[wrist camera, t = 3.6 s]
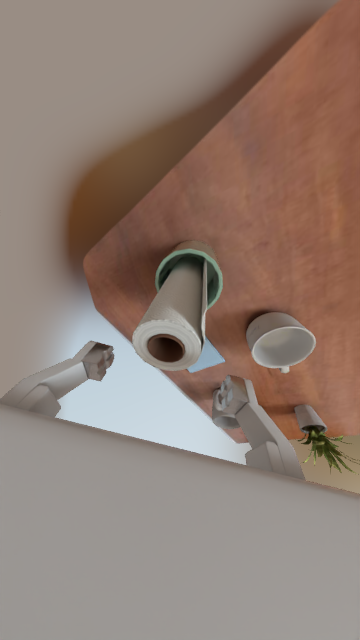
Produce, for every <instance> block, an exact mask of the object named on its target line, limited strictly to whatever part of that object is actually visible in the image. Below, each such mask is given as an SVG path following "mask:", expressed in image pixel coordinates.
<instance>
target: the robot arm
mask: <svg viewBox="0 0 360 640" xmlns="http://www.w3.org/2000/svg"><path fill="white" fill-rule="evenodd" d="M112 351H113V346H109V345H105V344H101V343H98V342H94V341H90V342H88V343H87V344H86V345H85V346H84V347H83V348H82V349H81V350H80V351H79V352H78V353H77V354H76V355H75V356H74V358H73V359H68V360H65V361H63V362H61V363H58V364H56V365H54V366H52V367H49V368H47V369H45V370H43V371H40V372H38V373H36V374H33V375H31V376H29V377H27V378H24V379H23V380H22V381H20V382H19V383H18V384H17V385H16V386H15V387H14V388H12V389H11V390H10V391H9V392H8V393H7V394H6V395H4V396H3V397H2V398H1V399H0V640H360V494H358V493H354V492H350V491H346V490H342V489H338V488H334V487H330V486H326V485H322V484H318V483H314V482H310V481H306V480H305V477H304V475H303V472H302V469H301V466H300V464H299V461H298V459H297V456H296V453H295V451H294V448H293V446H292V445H291V444H290V442H289V441H288V440H287V438H286V437H285V436H284V435H283V433H282V432H281V431H280V430H279V428H278V427H277V426H276V425H275V423H274V422H273V421H272V420H271V418H270V417H269V416H268V415H267V413H266V412H265V411H264V409H263V408H262V407H261V406H260V405H258V402H257V399H256V395H255V392H254V388H253V385H252V382H251V380H248V379H244V378H240V377H236V376H232V375H227V376H226V380H225V381H223V383H222V385H221V396H222V397H223V400H222V401H221V402H222V412H226V413H229V414H233V415H235V417H236V419H237V421H238V423H239V425H240V427H241V428H242V430H243V432H244V434H245V436H246V438H247V440H248V441H249V443H250V445H251V447H252V450H250V451H248V452H247V453H246V454H245V457H246V464H247V465H243V464H238V463H234V462H230V461H227V460H223V459H219V458H214V457H211V456H207V455H203V454H198V453H195V452H191V451H187V450H183V449H179V448H175V447H171V446H167V445H163V444H159V443H155V442H151V441H147V440H143V439H139V438H135V437H131V436H127V435H123V434H119V433H115V432H111V431H107V430H103V429H99V428H95V427H91V426H87V425H83V424H79V423H75V422H71V421H67V420H63V419H59V418H55V416H56V414H57V413H58V412H59V410H60V409H61V406H60V404H59V403H58V401H57V400H58V399H60V398H61V397H63V396H64V395H66V394H67V393H68V392H70V391H71V390H73V389H74V388H76V387H77V386H79V385H80V384H82V383H83V382H85V381H86V380H88V379H93V380H97V381H101V380H102V378H103V377H104V376H105V374H106V369H107V368H109V367H110V366H111V364H112V362H113V359H114V354H113V352H112Z"/></svg>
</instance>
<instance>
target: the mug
mask: <svg viewBox="0 0 360 640" xmlns="http://www.w3.org/2000/svg"><path fill="white" fill-rule="evenodd" d="M222 400H223V397H222V396H221V388H219V389H218V390H215V391H214V393H213V407H212V420H213V423H214V424H215V425H216V426H218V427H221V428H225V429H235V428H239V427H240V425H239V423H238V421H237V419H236V417H235V415H233V414H229V413H226V412H222V402H221V401H222Z"/></svg>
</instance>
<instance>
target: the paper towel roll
mask: <svg viewBox="0 0 360 640" xmlns="http://www.w3.org/2000/svg"><path fill="white" fill-rule="evenodd" d="M206 310H207V267H206V259H205V258H204V268H203V266H202V263H201V262H200V261H199V260H198V259H196V258H193V257H184V258H182V259H180V260H179V261H178V262H177V263H176V265H175V266H174V268H173V269H172V271H171V273H170V274H169V276H168V278H167V279H166V281H165V282H164V284H163V286H162V287H161V289H160V290H159V292H158V294H157V295H156V297H155V299H154V300H153V302H152V303H151V305H150V307H149V308H148V310H147V311H146V313H145V315H144V316H143V318H142V320H141V321H140V323H139V324H138V326H137V328H136V329H135V331H134V332H133V340H132V344H133V347H134V349H135V351H136V353H137V354H138V355H139V356H140V357H141V358H142V359H143V360H144V361H145V362H147V363H149V364H150V365H152V366H154V367H156V368H160V369H163V370H173V371H178V370H183V369H187V368H189V367H191V366H192V365H194V364H195V363H197V361H198V359H199V357H200V355H201V353H202V350H203V347H204V344H205V312H206Z"/></svg>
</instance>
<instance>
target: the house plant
mask: <svg viewBox="0 0 360 640" xmlns="http://www.w3.org/2000/svg"><path fill="white" fill-rule="evenodd" d="M294 410H295V413H296V417H297V420H298V424H299V427H300V430H301V431H302V432H304V433H308V434H309V437H308V439H307V441H306V442H305V443H302V444H310V443H311V440H312V441H313V442H312V445H313V447H312V450H311V451H314V465H315V461H316V450H317V453H318V457H321V456H322V454H324V456H325V458H326V459H327V460H328V462H329V465H330V468H331V466H333V467H335V468H336V469H338V470H339V471H340V472H341V470H340V468H339V466H338V464H337V462H336V460H335V459H334V457H333V456H332V454H333V455H334V456H335V457H336V458H337V459H338V461H339V462H340V463H341V464H342V465H343V466H344V467H345V468H346V469H348V470H349V471H351V472H353V471H352V470H351V469H350V468H348V467H347V466H346V465H345V463H344V462H343V461H342V460H341V459H340V458H339V457H338V456H337V455H339V456H343V455H342V454H340V452H338V451H337V450H335V448H336V447H338V446H336V445H334V444H332V443H331V442H330V441H329V440H328V439H329V438H328V437H326V436H325V434H324V433H325V431H327V427H326V426H325V424H324V423H323V422H322V420H321V419H320V418H319V416H318V415H317V414H316V412H315V411H314V410H313V408H312V407H311V406H309V405H299V406H296V407H295V408H294ZM323 432H324V433H323ZM326 434H327V433H326ZM305 436H306V434H305ZM304 438H305V437H304ZM304 438H303V439H304ZM327 438H328V439H327ZM333 438H334V437H333ZM342 438H343V434H342V436H340V437H339V438H337V439H335V440H334V441H340V440H342ZM303 439H302V440H303ZM298 441H301V440H298ZM341 442H342V441H341ZM330 452H331V453H332V454H331V453H330ZM336 454H337V455H336ZM310 455H311V453H310ZM310 455H309V457H310ZM309 457H308V459H309ZM308 459H307V460H308ZM307 460H306V461H307ZM332 460H333V461H332ZM306 461H305V462H306ZM303 463H304V462H303ZM341 473H342V472H341ZM353 473H355V472H353Z"/></svg>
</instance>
